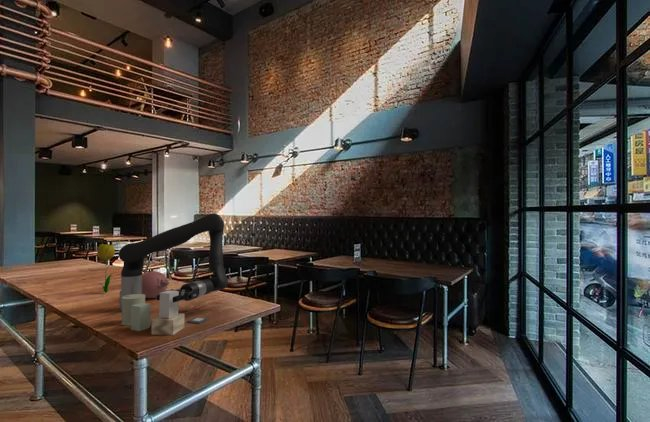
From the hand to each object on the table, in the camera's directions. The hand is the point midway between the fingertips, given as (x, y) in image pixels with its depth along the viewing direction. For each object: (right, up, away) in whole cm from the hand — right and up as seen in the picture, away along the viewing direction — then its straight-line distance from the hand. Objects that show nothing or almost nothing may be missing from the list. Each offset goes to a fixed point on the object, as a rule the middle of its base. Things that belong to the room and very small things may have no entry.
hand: (165, 298), depth 135 cm
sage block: (-12, -14, +4) cm, 19 cm away
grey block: (+1, -8, +2) cm, 8 cm away
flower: (-68, -14, +66) cm, 95 cm away
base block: (+1, -14, +2) cm, 14 cm away
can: (-20, -14, +12) cm, 27 cm away
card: (+8, -14, +14) cm, 21 cm away
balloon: (-32, -14, +54) cm, 64 cm away
